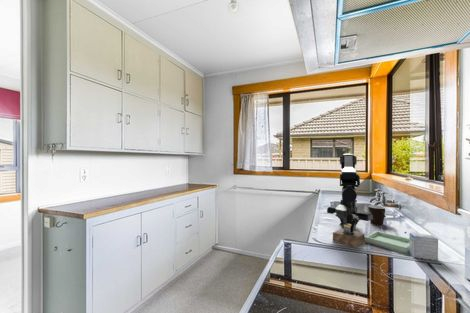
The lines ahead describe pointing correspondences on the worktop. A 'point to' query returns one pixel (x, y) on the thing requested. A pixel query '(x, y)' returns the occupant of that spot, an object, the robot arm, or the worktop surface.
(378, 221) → the coffee mug
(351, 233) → the pin
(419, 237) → the medicine box
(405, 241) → the tray
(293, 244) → the worktop surface
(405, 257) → the worktop surface
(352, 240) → the brown block with hole
